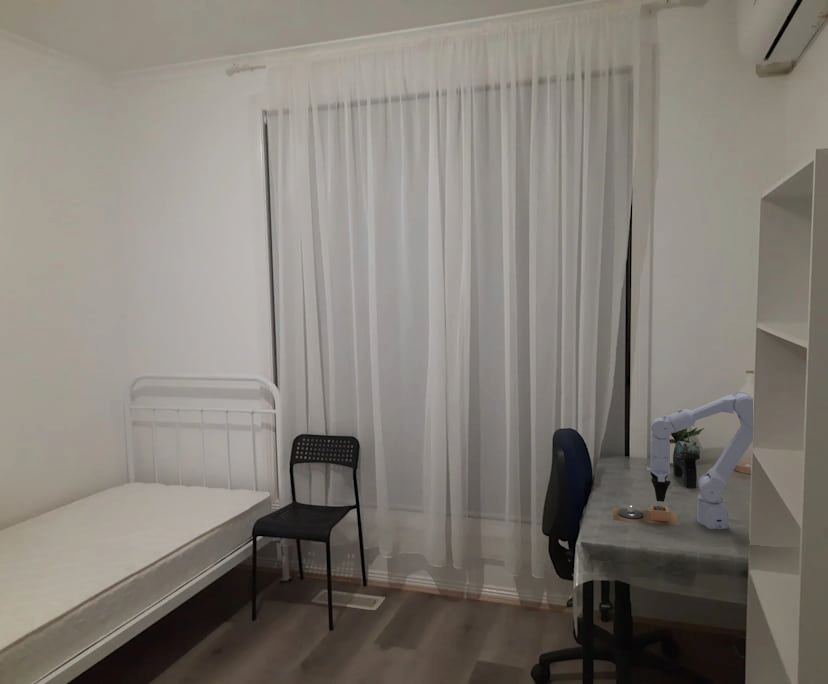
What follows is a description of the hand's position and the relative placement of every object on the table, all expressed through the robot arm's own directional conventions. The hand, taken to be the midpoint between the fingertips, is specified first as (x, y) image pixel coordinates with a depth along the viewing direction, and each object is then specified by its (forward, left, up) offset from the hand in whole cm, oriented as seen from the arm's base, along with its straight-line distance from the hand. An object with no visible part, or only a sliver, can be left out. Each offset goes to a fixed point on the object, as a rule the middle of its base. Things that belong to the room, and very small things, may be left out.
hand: (659, 497), depth 204 cm
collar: (0, 0, -7) cm, 7 cm away
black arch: (+40, -29, -8) cm, 50 cm away
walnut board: (+2, +4, -8) cm, 9 cm away
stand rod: (0, 0, -7) cm, 7 cm away
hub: (+3, +8, -7) cm, 11 cm away
